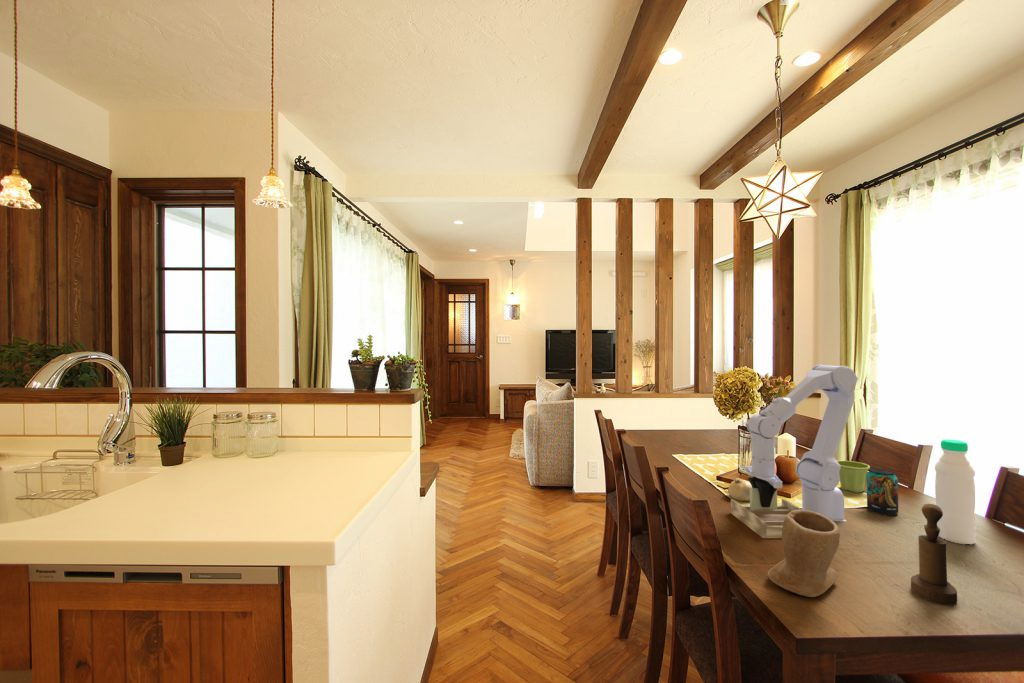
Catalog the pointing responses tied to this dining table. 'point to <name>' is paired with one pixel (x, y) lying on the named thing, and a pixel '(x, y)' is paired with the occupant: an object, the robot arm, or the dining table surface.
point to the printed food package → (882, 491)
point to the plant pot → (853, 475)
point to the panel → (756, 503)
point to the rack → (757, 524)
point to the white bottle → (955, 493)
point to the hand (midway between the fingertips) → (763, 505)
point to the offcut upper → (771, 517)
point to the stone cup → (807, 553)
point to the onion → (740, 489)
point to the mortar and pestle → (933, 562)
